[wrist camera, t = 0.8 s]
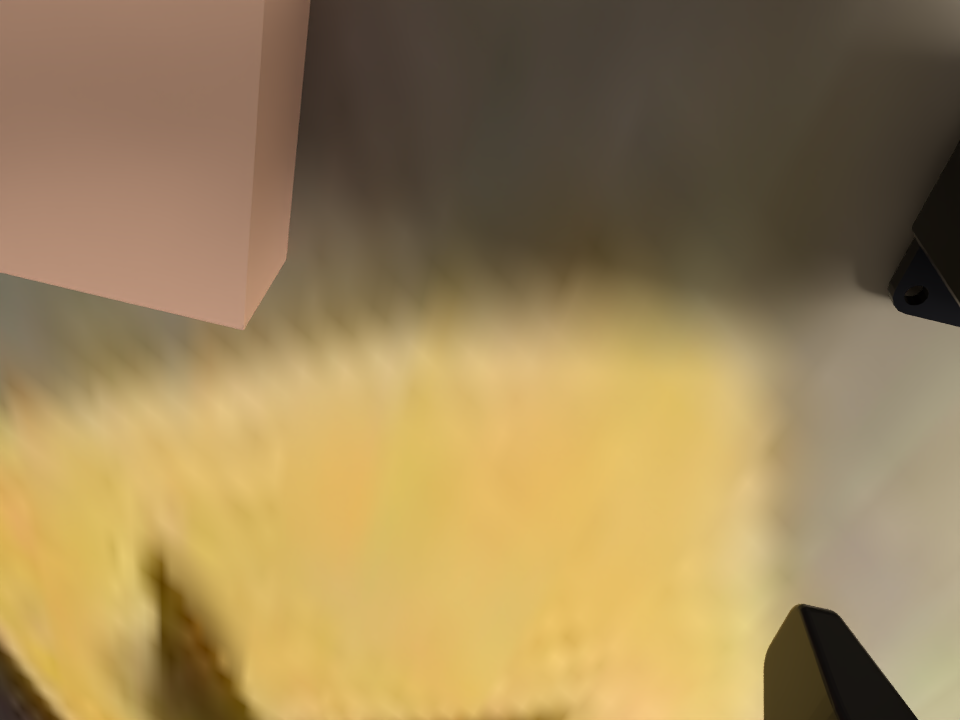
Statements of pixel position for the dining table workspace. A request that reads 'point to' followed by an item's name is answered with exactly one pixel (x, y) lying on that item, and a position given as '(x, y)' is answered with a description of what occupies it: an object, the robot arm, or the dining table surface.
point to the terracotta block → (151, 148)
